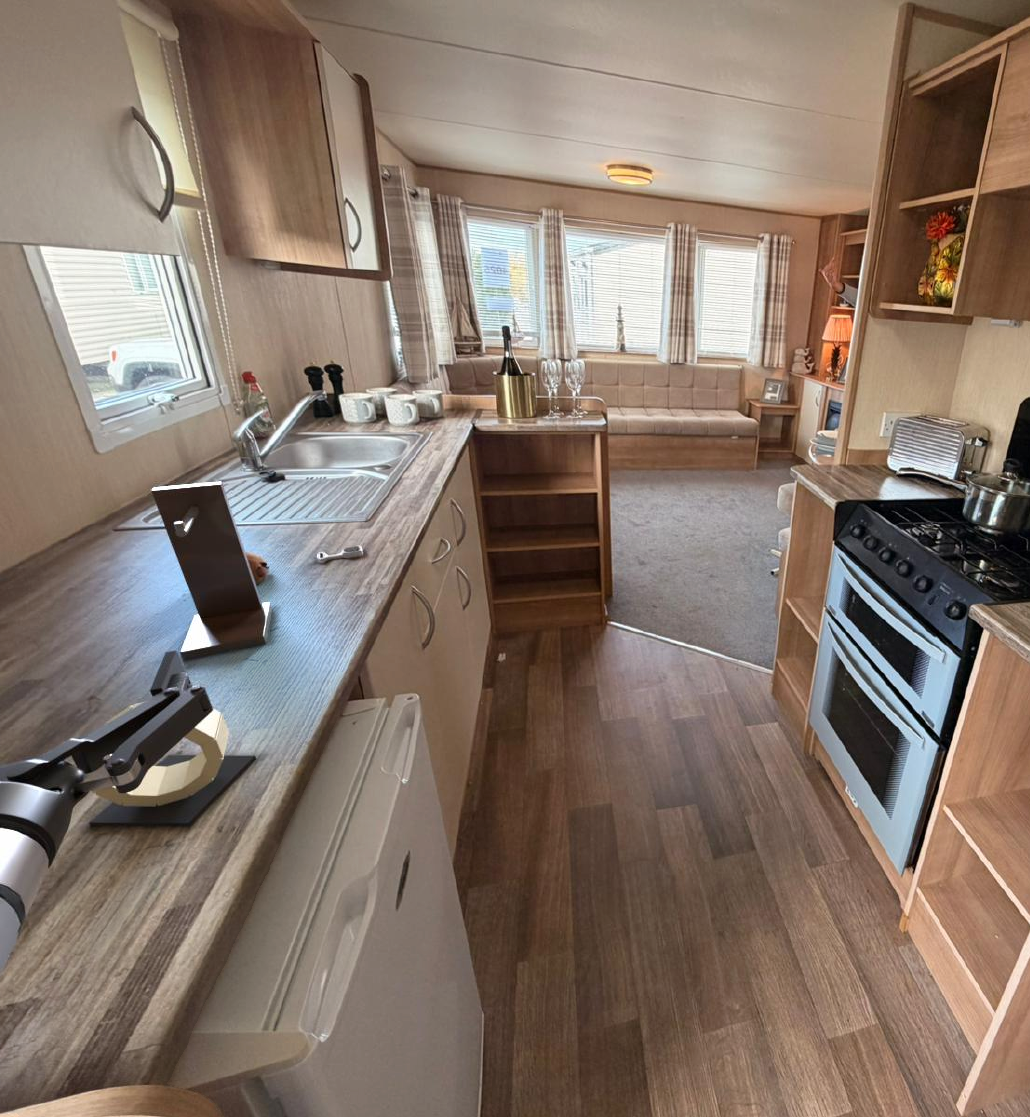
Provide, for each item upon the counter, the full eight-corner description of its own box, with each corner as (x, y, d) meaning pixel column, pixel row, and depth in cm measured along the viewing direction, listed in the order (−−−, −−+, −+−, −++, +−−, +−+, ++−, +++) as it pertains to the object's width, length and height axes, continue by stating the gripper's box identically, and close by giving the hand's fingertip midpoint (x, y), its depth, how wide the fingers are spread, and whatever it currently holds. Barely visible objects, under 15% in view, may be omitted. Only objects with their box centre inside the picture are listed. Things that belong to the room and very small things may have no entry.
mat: (90, 827, 62) (88, 822, 62) (170, 758, 71) (168, 754, 71) (190, 827, 63) (187, 823, 63) (256, 759, 72) (255, 755, 72)
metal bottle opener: (364, 556, 124) (362, 551, 124) (318, 564, 120) (316, 558, 119) (362, 549, 127) (361, 543, 127) (317, 556, 123) (315, 551, 122)
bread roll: (220, 592, 115) (183, 563, 110) (273, 561, 118) (240, 531, 113) (221, 613, 108) (183, 583, 103) (277, 579, 112) (243, 548, 107)
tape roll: (121, 789, 66) (82, 715, 62) (239, 756, 71) (211, 686, 67) (108, 821, 62) (66, 744, 58) (234, 784, 68) (204, 711, 63)
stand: (197, 623, 98) (144, 487, 88) (272, 609, 103) (230, 479, 94) (183, 661, 89) (122, 514, 79) (266, 644, 94) (218, 504, 84)
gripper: (-356, 1021, 32) (-125, 766, 48) (238, 830, 44) (262, 678, 60) (-468, 931, 29) (-181, 690, 45) (205, 753, 41) (240, 615, 57)
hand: (74, 683), depth 52 cm, fingers open, 13 cm apart
